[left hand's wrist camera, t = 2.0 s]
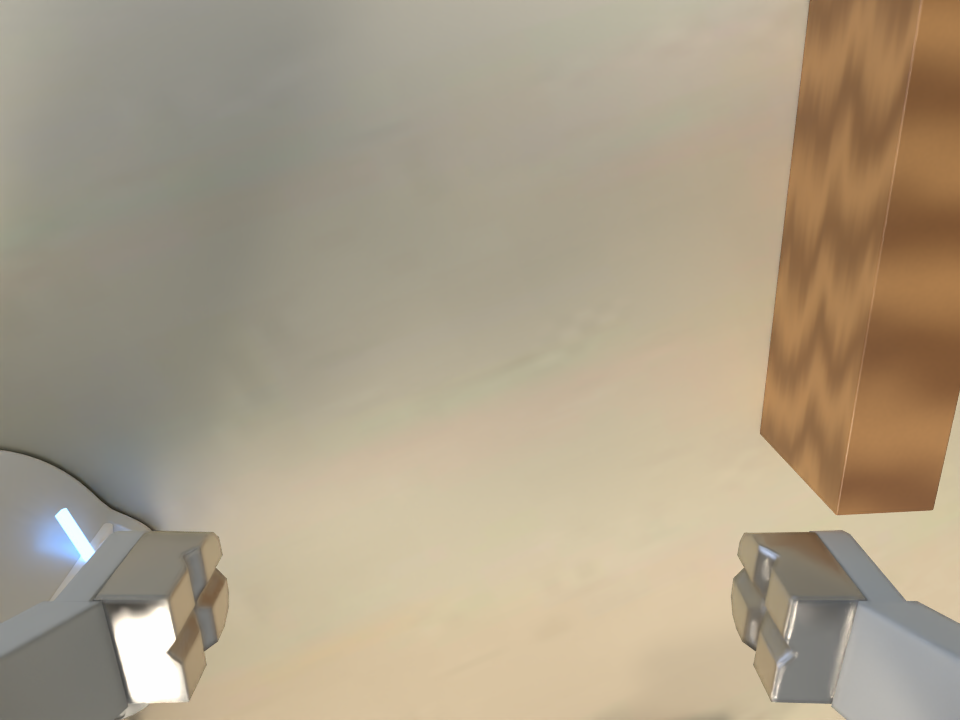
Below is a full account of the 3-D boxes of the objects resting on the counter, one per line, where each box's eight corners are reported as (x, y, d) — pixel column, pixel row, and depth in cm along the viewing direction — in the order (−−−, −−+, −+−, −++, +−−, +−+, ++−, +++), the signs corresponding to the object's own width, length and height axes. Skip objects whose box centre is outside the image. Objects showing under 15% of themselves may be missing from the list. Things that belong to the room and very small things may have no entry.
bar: (837, 430, 44) (933, 511, 35) (759, 433, 44) (835, 515, 35) (912, -44, 35) (1069, -97, 26) (813, -40, 35) (936, -92, 26)
